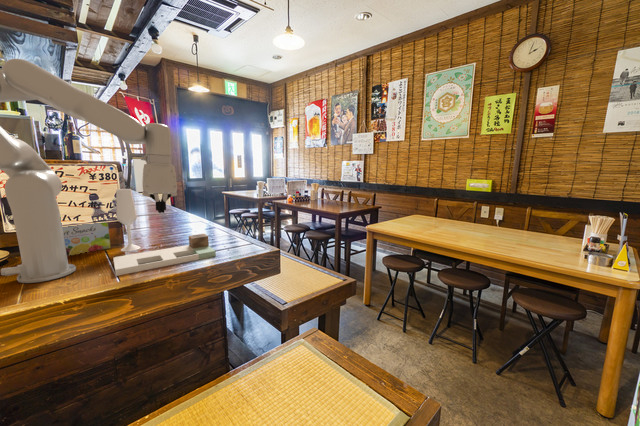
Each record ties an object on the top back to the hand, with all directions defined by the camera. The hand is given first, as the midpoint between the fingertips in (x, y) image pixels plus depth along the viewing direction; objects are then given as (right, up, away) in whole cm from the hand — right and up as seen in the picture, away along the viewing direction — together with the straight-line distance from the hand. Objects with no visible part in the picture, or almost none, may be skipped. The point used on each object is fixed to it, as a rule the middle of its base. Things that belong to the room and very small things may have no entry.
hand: (161, 212), depth 96 cm
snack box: (-36, -16, +6) cm, 40 cm away
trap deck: (+2, -17, 0) cm, 17 cm away
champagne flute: (-19, -15, +12) cm, 27 cm away
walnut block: (+9, -13, +10) cm, 19 cm away
